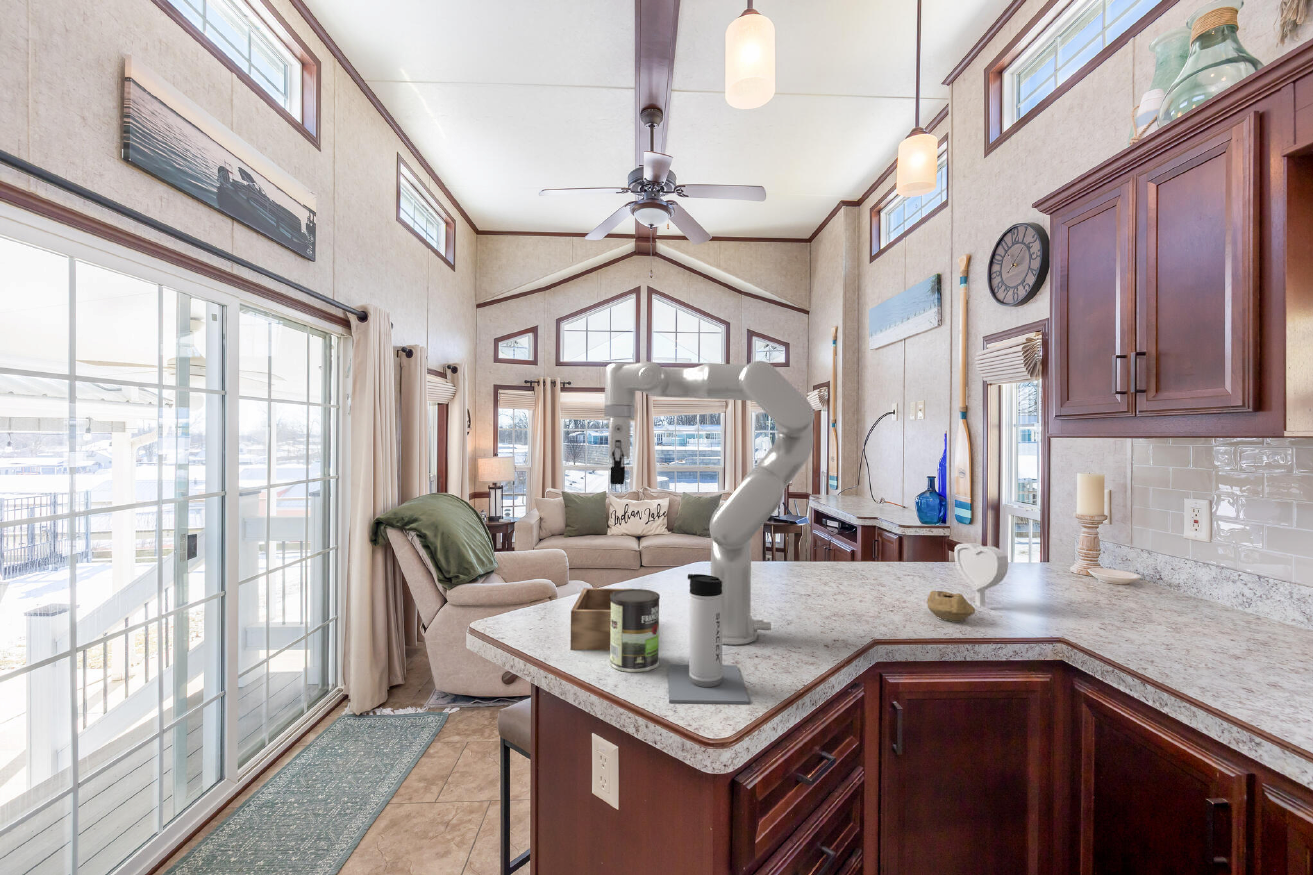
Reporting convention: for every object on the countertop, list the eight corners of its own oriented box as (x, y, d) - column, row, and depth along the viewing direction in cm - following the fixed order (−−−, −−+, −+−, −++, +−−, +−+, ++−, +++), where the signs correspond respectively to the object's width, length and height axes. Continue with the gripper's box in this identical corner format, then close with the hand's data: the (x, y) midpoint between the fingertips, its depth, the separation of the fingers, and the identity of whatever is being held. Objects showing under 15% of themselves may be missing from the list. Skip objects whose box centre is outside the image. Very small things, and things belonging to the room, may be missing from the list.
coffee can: (668, 660, 116) (668, 592, 117) (641, 676, 108) (642, 604, 108) (628, 650, 122) (628, 586, 122) (599, 665, 113) (600, 596, 113)
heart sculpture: (952, 601, 163) (951, 540, 164) (966, 600, 165) (966, 540, 165) (995, 617, 148) (995, 550, 149) (1010, 616, 150) (1010, 549, 150)
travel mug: (685, 674, 108) (685, 571, 108) (719, 673, 108) (718, 571, 109) (689, 688, 101) (689, 578, 102) (725, 687, 102) (725, 578, 102)
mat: (736, 667, 112) (736, 665, 112) (749, 703, 96) (749, 700, 96) (668, 666, 113) (668, 664, 113) (669, 702, 97) (669, 699, 97)
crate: (634, 622, 142) (634, 588, 142) (629, 650, 122) (629, 611, 122) (583, 621, 142) (583, 588, 142) (570, 649, 122) (570, 610, 122)
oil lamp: (944, 608, 156) (944, 580, 156) (986, 625, 142) (986, 594, 142) (910, 610, 154) (910, 582, 154) (949, 628, 139) (949, 596, 139)
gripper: (634, 411, 128) (632, 485, 128) (634, 416, 145) (632, 481, 145) (602, 410, 128) (600, 484, 127) (606, 415, 145) (604, 480, 145)
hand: (617, 482), depth 136 cm, fingers open, 9 cm apart
